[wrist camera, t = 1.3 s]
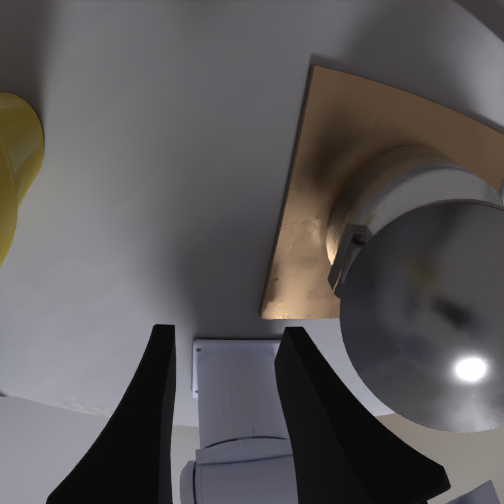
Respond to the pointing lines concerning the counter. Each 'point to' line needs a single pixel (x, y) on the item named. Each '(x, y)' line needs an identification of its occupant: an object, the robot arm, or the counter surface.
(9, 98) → the plant pot
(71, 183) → the counter surface
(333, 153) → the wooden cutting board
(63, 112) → the counter surface
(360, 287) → the cooker lid
